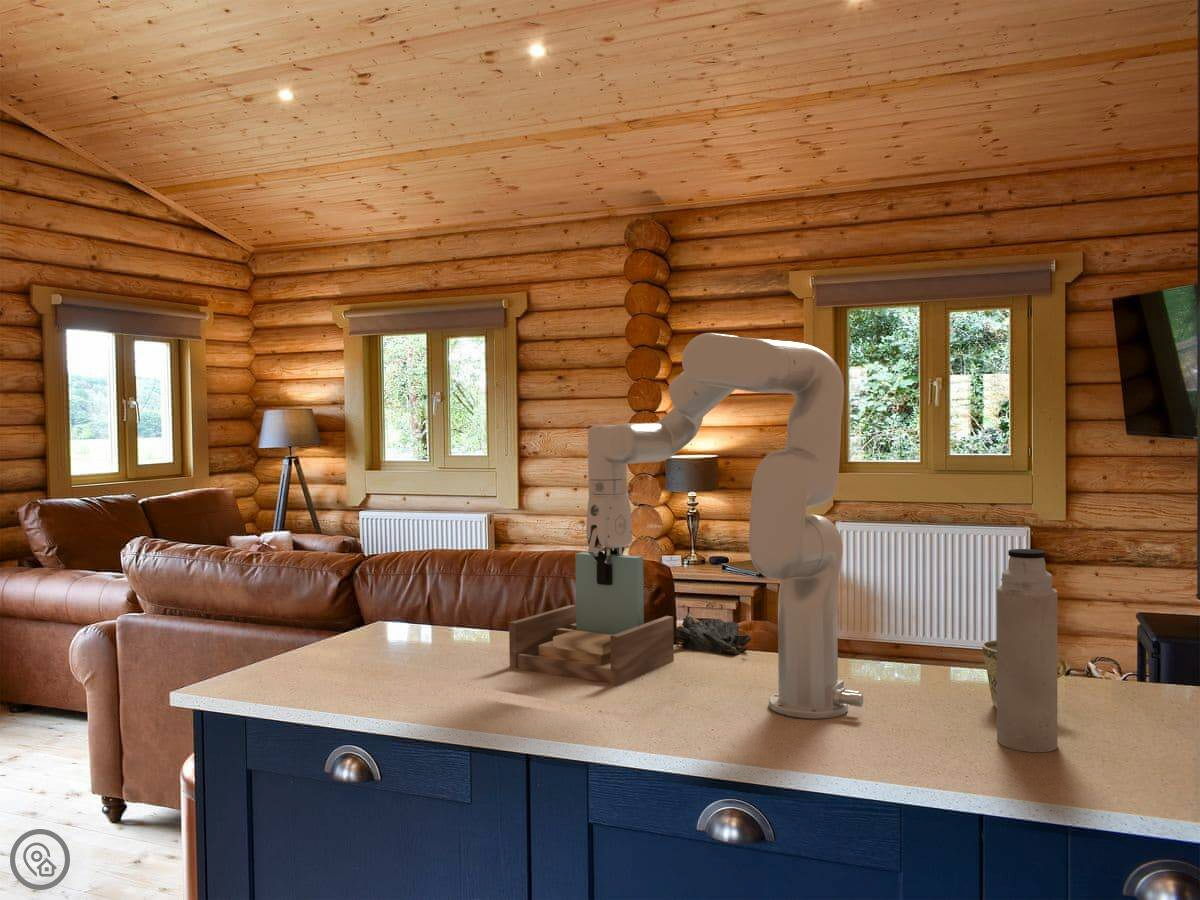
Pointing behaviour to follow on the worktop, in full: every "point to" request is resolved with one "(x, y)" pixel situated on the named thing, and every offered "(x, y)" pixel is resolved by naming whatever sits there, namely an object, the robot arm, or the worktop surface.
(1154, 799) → the worktop surface
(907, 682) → the worktop surface
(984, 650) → the ceramic cup
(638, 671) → the walnut rack
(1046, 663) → the thermos bottle
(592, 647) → the offcut stack
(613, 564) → the teal sheet
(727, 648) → the mineral specimen
